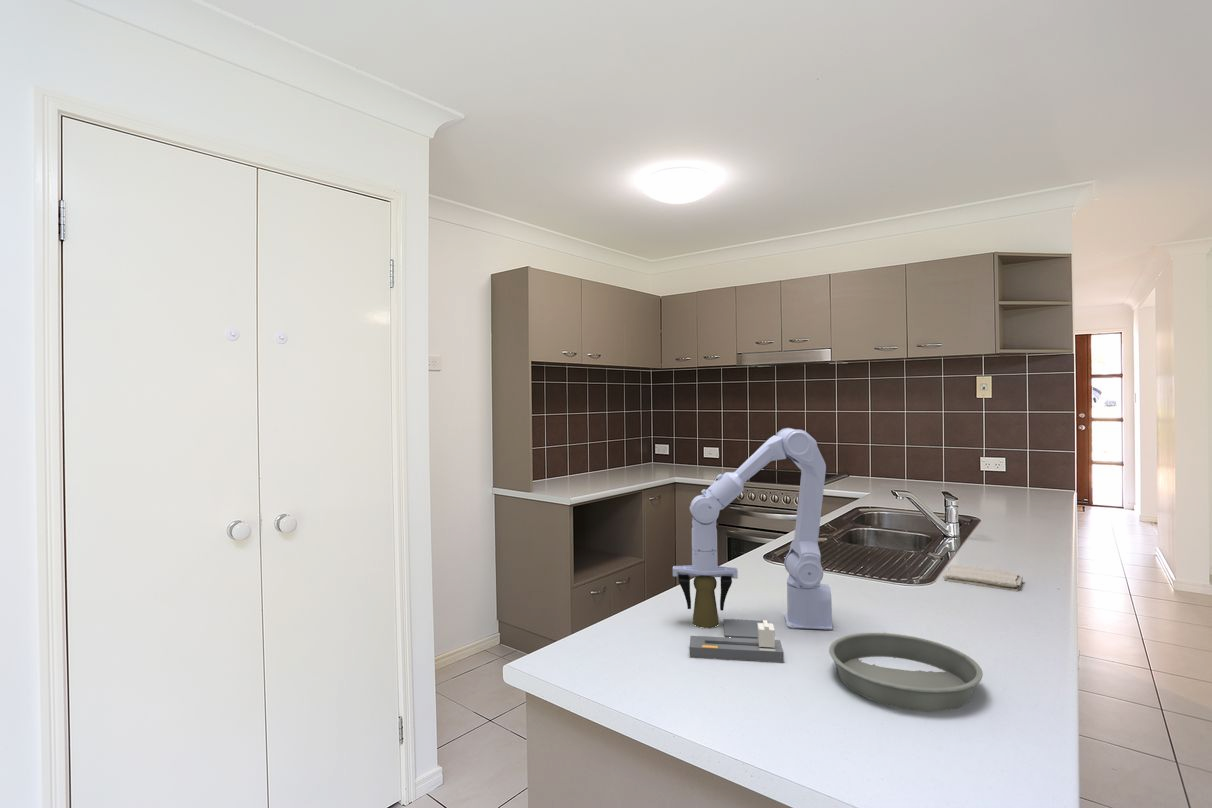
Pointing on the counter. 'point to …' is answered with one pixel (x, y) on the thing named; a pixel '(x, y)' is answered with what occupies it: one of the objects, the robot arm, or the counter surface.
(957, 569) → the washcloth
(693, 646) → the switch bar
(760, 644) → the switch tab
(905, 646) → the cake pan
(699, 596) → the cork
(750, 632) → the slate mat
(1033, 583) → the counter surface
